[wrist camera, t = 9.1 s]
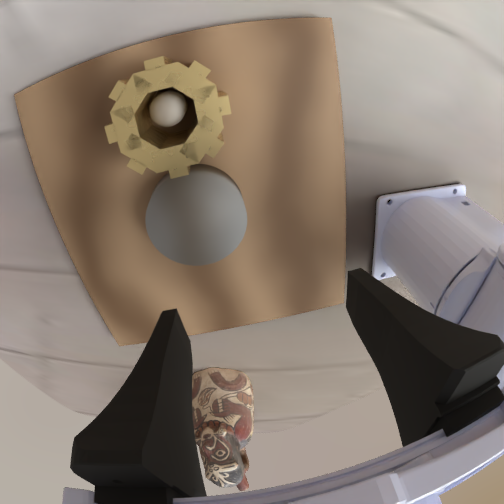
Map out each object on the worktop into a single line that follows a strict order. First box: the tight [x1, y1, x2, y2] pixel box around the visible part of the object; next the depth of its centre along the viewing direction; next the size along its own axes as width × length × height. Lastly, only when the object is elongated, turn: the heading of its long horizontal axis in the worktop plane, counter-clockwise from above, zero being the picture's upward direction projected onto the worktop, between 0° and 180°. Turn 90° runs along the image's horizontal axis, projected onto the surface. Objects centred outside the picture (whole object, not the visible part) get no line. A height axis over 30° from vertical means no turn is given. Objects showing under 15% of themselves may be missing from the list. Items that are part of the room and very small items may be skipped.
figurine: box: [192, 367, 254, 491], centre depth 27 cm, size 7×7×12 cm
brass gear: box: [104, 56, 231, 179], centre depth 15 cm, size 6×6×4 cm
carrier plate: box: [14, 18, 346, 346], centre depth 19 cm, size 20×22×5 cm
